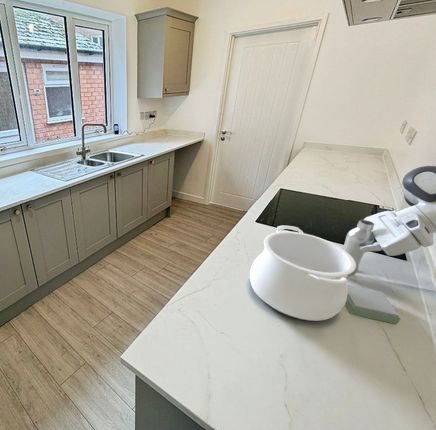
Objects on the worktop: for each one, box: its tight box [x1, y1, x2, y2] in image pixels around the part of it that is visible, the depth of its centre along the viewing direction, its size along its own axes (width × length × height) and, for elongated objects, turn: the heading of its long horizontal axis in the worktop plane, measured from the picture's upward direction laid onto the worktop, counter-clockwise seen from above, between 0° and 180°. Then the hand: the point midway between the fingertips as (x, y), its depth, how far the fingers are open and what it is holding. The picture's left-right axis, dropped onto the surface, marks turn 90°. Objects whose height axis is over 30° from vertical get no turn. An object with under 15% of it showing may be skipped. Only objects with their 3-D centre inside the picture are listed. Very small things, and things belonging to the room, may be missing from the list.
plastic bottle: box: [341, 219, 375, 277], centre depth 87 cm, size 6×7×20 cm
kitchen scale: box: [344, 284, 401, 325], centre depth 77 cm, size 10×10×3 cm
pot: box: [249, 225, 356, 322], centre depth 78 cm, size 28×24×17 cm
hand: (356, 242), depth 86 cm, fingers open, 8 cm apart
